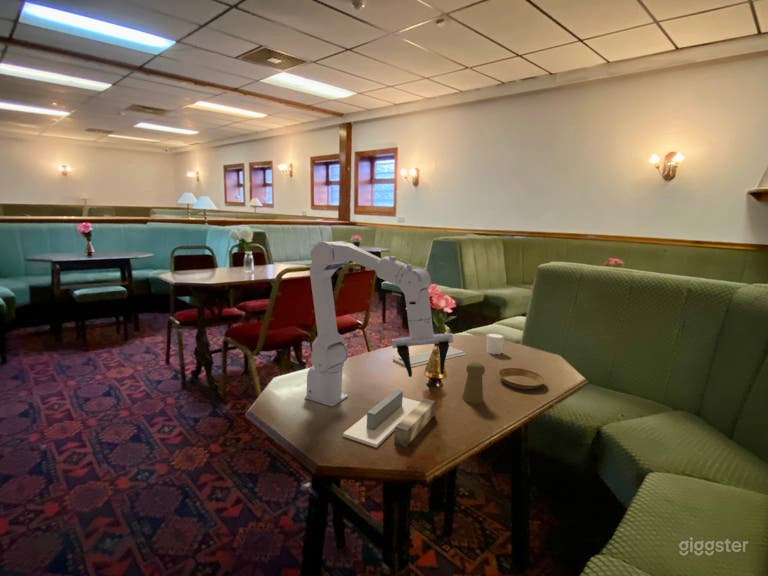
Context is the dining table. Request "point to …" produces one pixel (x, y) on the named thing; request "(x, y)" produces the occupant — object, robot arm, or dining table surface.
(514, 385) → the plant saucer
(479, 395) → the pepper mill
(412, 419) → the shiny metallic bar
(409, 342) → the robot arm
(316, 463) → the dining table surface
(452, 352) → the baseboard
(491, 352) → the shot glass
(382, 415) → the ridge stand
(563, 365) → the dining table surface
